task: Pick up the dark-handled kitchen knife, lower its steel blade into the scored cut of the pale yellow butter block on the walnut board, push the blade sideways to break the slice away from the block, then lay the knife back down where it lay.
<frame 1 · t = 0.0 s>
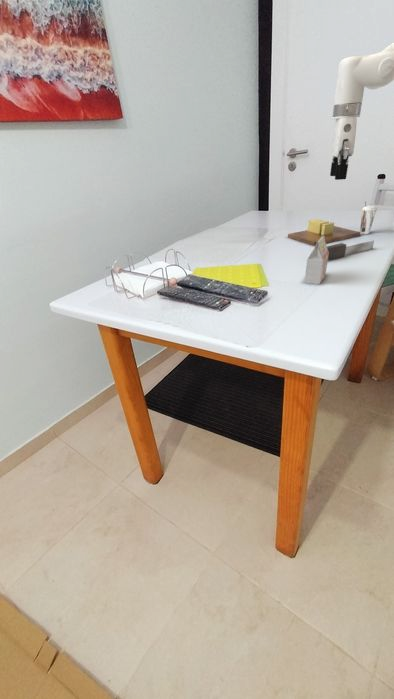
hand: (337, 177, 107), 19 cm above the table, tool pointing down, fingers open, 9 cm apart
butter block: (317, 231, 121), point 1 cm above the table, touching board
board: (323, 236, 119), on the table
butter slice: (326, 234, 117), point 1 cm above the table, touching board
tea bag: (315, 279, 87), on the table
milkshake: (363, 233, 120), on the table
knife: (330, 258, 99), on the table
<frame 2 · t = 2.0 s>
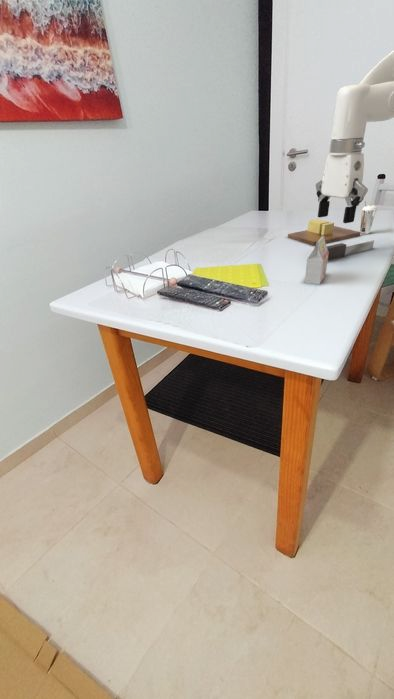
hand: (334, 219, 93), 11 cm above the table, tool pointing down, fingers open, 9 cm apart
nothing on the table moved.
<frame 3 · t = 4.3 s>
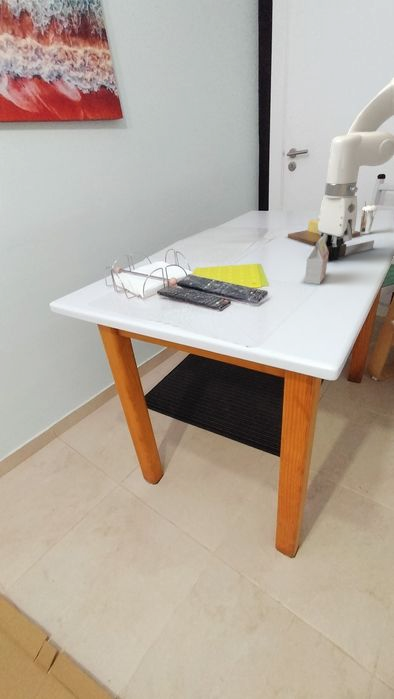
hand: (330, 258, 99), 0 cm above the table, tool pointing down, fingers closed on knife, 2 cm apart
knife: (330, 258, 99), on the table, touching gripper
everything else where it was.
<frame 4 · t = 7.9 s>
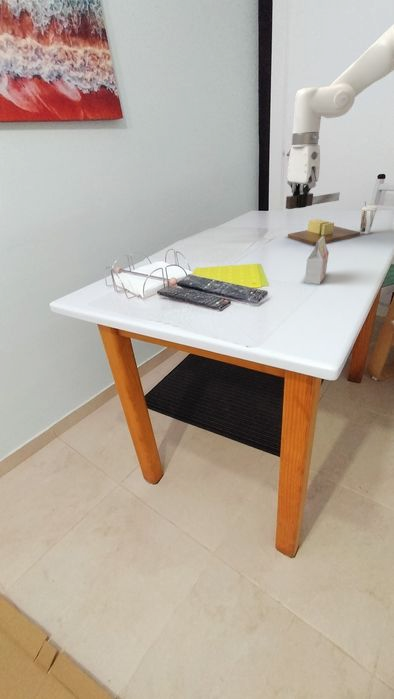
hand: (298, 206, 109), 12 cm above the table, tool pointing down, fingers closed on knife
knife: (298, 207, 109), point 11 cm above the table, touching gripper
everything else where it was.
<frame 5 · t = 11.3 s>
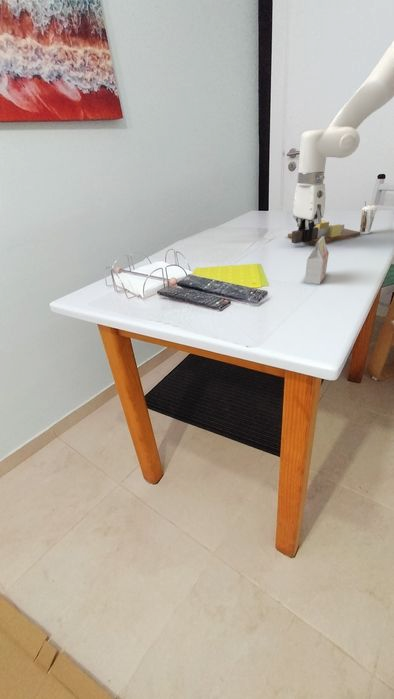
hand: (304, 240, 111), 2 cm above the table, tool pointing down, fingers closed on knife, 2 cm apart
butter slice: (334, 236, 114), point 1 cm above the table, touching board, knife
knife: (304, 240, 111), point 2 cm above the table, touching butter slice, gripper
everything else where it was.
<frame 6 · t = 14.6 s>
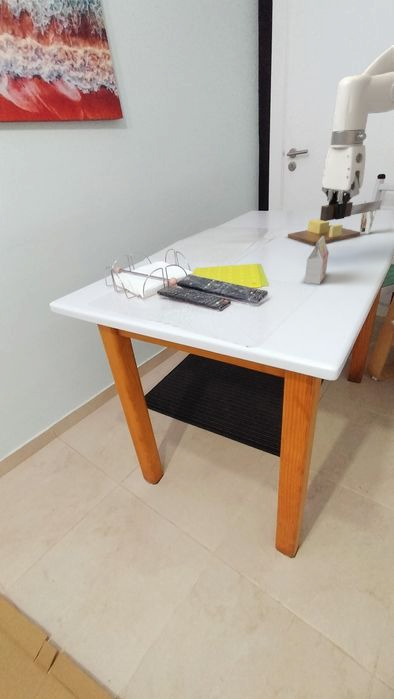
hand: (335, 217, 93), 12 cm above the table, tool pointing down, fingers closed on knife
butter slice: (334, 236, 114), point 1 cm above the table, touching board
knife: (335, 218, 93), point 11 cm above the table, touching gripper
everything else where it was.
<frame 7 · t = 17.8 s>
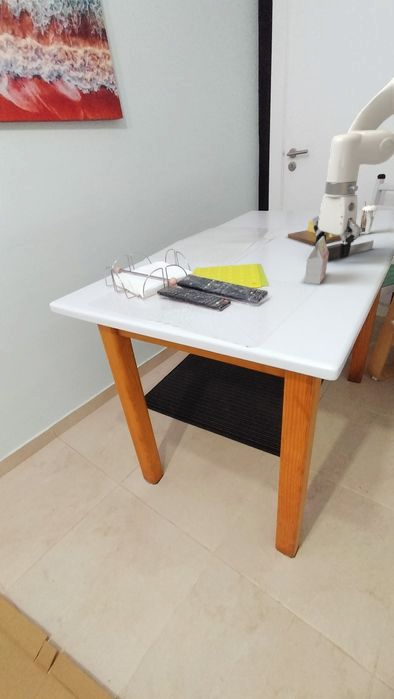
hand: (331, 253, 98), 2 cm above the table, tool pointing down, fingers open, 9 cm apart
knife: (329, 258, 99), on the table
everything else where it was.
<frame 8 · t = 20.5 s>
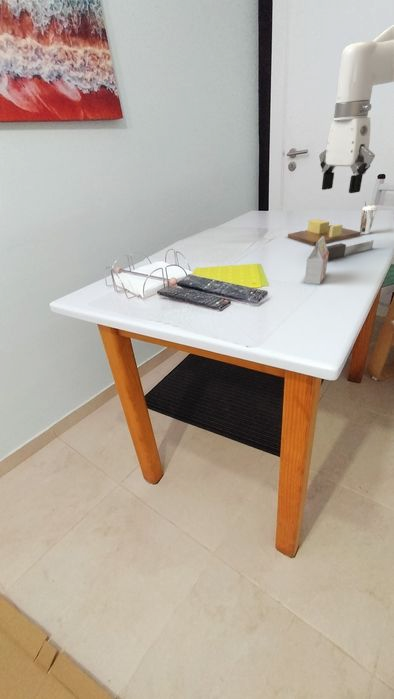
hand: (339, 190, 89), 18 cm above the table, tool pointing down, fingers open, 9 cm apart
nothing on the table moved.
at the end: butter slice moved 3.8 cm from its start; butter slice touching board; knife inside the target area (0.1 cm from its centre), on the table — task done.
